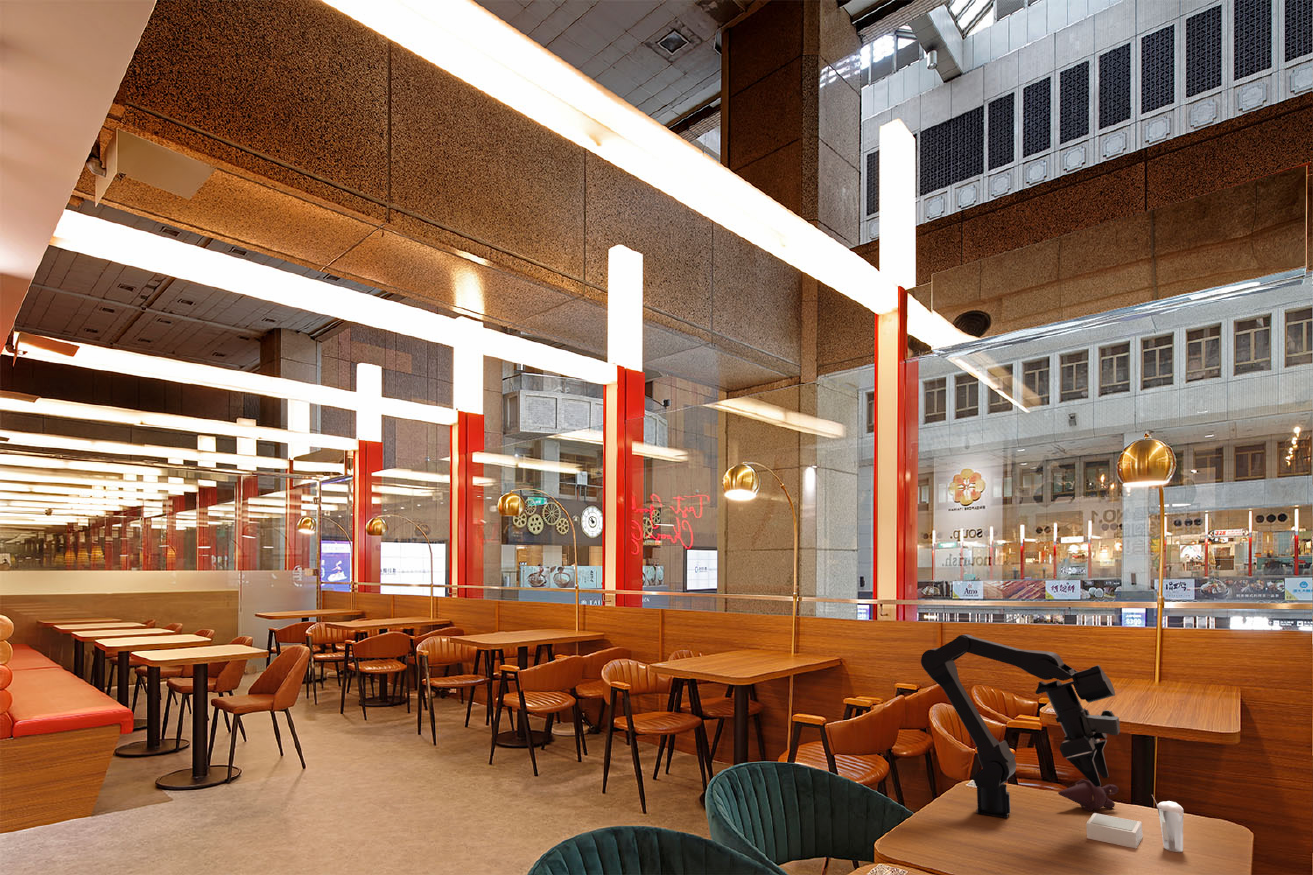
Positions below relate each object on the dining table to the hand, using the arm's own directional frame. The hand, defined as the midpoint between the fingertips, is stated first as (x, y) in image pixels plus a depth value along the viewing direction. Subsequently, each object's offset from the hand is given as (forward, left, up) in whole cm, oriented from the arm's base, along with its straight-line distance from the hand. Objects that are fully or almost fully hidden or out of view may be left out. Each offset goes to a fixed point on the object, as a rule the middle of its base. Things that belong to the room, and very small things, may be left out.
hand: (1102, 781), depth 169 cm
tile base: (+2, 0, -11) cm, 11 cm away
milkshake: (+11, -2, -11) cm, 16 cm away
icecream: (-2, +19, -11) cm, 22 cm away
